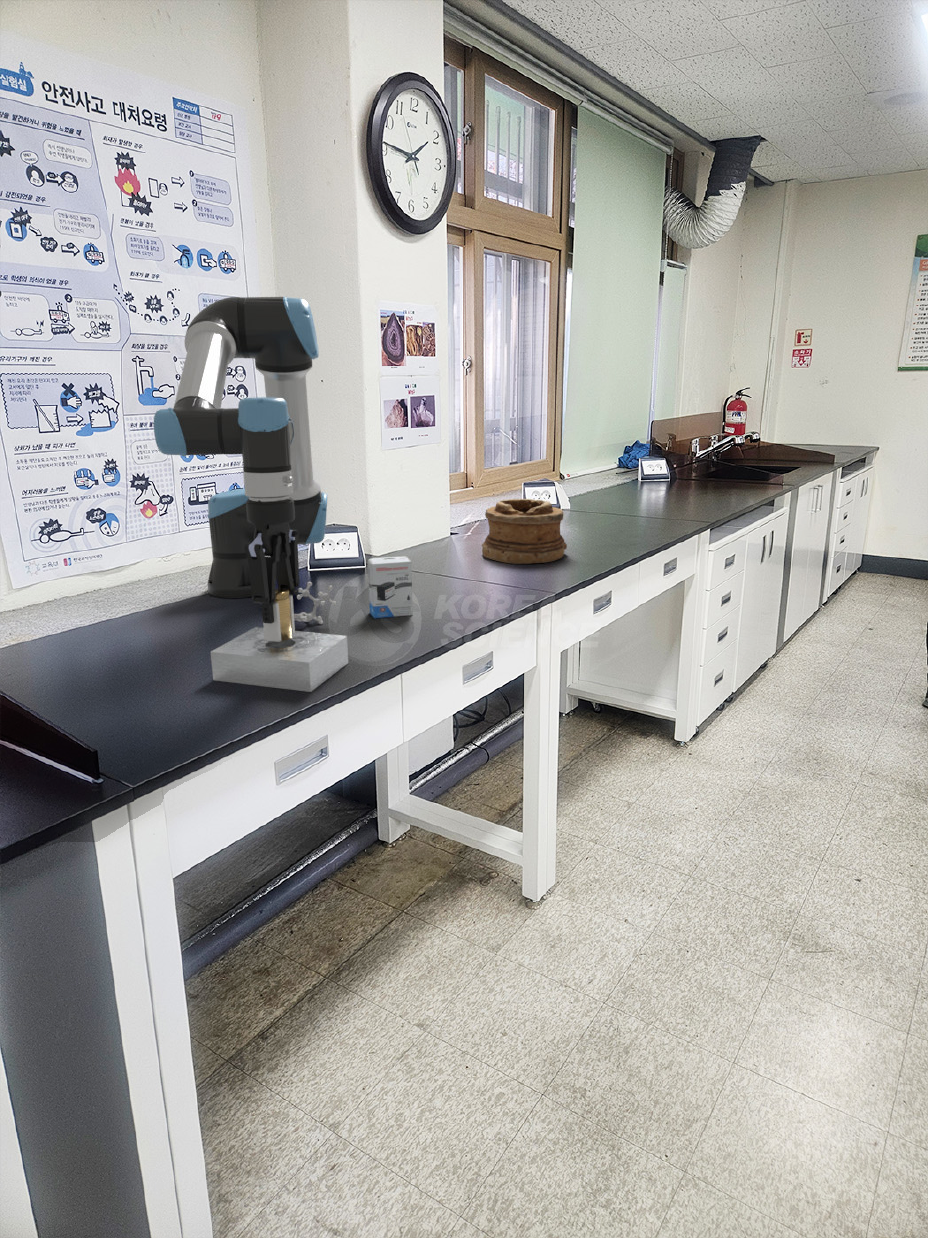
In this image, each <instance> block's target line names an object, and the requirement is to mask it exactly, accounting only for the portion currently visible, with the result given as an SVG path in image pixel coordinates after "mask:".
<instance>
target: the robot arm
mask: <svg viewBox="0 0 928 1238" xmlns="http://www.w3.org/2000/svg"><path fill="white" fill-rule="evenodd" d="M310 306H311V305H310V304H309V302H307V301H306V299H304V298H300V297H299V298H297V297H287V296H255V297H254V296H252V297H251V296H250V297H249V296H245V297H242V296H241V297H240V296H231V297H226V298H221V299H218V300H216V301H214V302H212V303H210V304H209V305H207V306H206V307H205V308H203V309H202V310H200V312H198V313H197V315H195V317H194V318H193V319H192V321H190V323H189V325H188V326H187V330H186V333H185V336H184V347H185V351H186V356H185V359H184V363H183V368H182V371H181V372H182V373H181V376H180V378H179V379H180V381H179V384H178V388H177V393H176V397H175V400H174V404H173V405H174V406H173V407H168V408H161V409H159V410H156V412H155V413H154V416H153V433H154V439H155V444H156V447H157V449H158V450H159V452H160V453H162V454H163V455H166V456H167V455H169V456H170V455H171V456H182V457H186V456H206V455H207V456H209V455H212V456H214V455H241V456H242V468H243V470H242V471H243V473H242V474H243V484H244V485H243V488H238V489H233V490H227V491H223V492H219V493H216V494H214V495H212V496H211V497H210V498H209V499H208V503H207V508H208V509H207V510H208V512H207V513H208V515H207V519H208V522H209V523H208V524H209V525H208V526H209V531H210V533H209V534H210V542H211V552H212V562H211V566H210V570H209V576H208V579H207V593H208V594H209V595H211V596H213V597H218V598H224V599H240V598H242V599H243V598H250V597H251V600H252V602H253V603H255V604H260V605H261V616H262V617H261V618H262V623H263V628H264V638H265V640H267V641H277V642H280V641H281V628H280V614H279V603H276V602H275V596H276V589H286V590H289V599H290V613H291V628H292V633H294V632H295V631H296V627H295V626H296V624H295V620H294V614H295V613H294V612H295V611H294V598H293V595H295V596H297V595H299V588H300V583H301V582H300V565H299V545H302V546H306V545H311V544H320V543H322V542H323V541H324V539H325V534H326V523H327V510H328V494H327V493H326V492H323V491H322V490H321V485H320V484H319V483H318V482H317V481H315V479H314V475H313V474H314V473H313V461H312V458H313V457H312V448H311V447H312V446H311V431H310V419H309V403H308V390H307V374H308V373H309V371H310V370H312V368H313V360H316V359H318V358H319V346H318V340H317V339H318V338H317V333H316V327H315V322H314V319H313V313H312V309H311V307H310ZM234 359H254V365H255V369H256V370H257V371H258V372H259V373H260V374H261V375H262V376H263V379H264V380H263V381H264V390H265V397H264V396H263V397H243V398H242V399H240V400H239V401H238V405H237V406H238V407H237V408H236V407H235V408H233V407H232V408H224V407H222V402H223V396H224V390H225V385H226V379H227V373H228V367H229V364H231V362H233V361H234ZM321 491H322V492H321ZM276 586H277V588H276Z"/></svg>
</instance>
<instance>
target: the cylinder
mask: <svg viewBox="0 0 928 1238" xmlns="http://www.w3.org/2000/svg"><path fill="white" fill-rule="evenodd" d="M275 602H276V603H279V614H280V628H281V641H286V640H289V639H291V638H292V628H291V613H290V599H289V590H286V589H278V588H276V596H275Z"/></svg>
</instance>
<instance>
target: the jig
mask: <svg viewBox="0 0 928 1238" xmlns="http://www.w3.org/2000/svg"><path fill="white" fill-rule="evenodd" d="M348 650H349V649H348V635H344V634H343V635H341V634H331V633H322V632H321V633H320V632H311V631H301V630H295V632H294V633H292V638H291V639H289V640H286V641H280V642H277V641H267V640H265V638H264V627H259V626H255V627H254V628H251V629H249V630H248V631H246V632H244V633H242V634H240V635H239V636H236V637H235V638H232V639H231V640H230V641H229V640H228V641H227V642H226V643H224V644H222V645H221V646H218V647H217V648H215V649H213V650H211V651H210V661H211V671H212V680H213V681H216V682H227V683H233V684H234V683H235V684H242V685H248V686H249V685H250V686H258V687H264V688H265V687H266V688H276V689H282V690H283V689H284V690H290V691H291V690H292V691H301V692H308V693H312V692H313V691H314V690H315V689H317V688H318V687H320V686H321V685H322V684H323V683H324V682H326V681H327V680H328V679H329V678H331V677H332V676H334V675H335V674H337V672H339V671H340V670H341V669H343V668H344V667H345V666H346V665H348V664H349V651H348Z"/></svg>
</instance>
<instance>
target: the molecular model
mask: <svg viewBox="0 0 928 1238" xmlns="http://www.w3.org/2000/svg"><path fill="white" fill-rule="evenodd" d="M306 585H307V586H306V588H305V589H303V588H302V587H298V589H299V592H298V594H297V595H296V598H297V600H301V599H302V597H305V598H306V597H308V598H309V599H310V600H312V601H313V608H312V611H311V612H309V613H307V612H303V611H302V612H300V613H294V621H297V622H299V623H301V622H305V623H309V622H311V621H312V620H315V621H317V622H318V624H319V625H323V624H324V621H323V617H322V616H321V615H318V616H317V613H316V611H317V609H318V606H320V605H321V606H325V605H326V601H328V602H329V603H331V606H332V607H335V606H336V605H337V602H336V601H335V600H332V599H331V595H330V593H331V591H333V589H334V587H333V585H329V586H328V587H327V588H328V589H327V591H326V592H322V591H319V592H318V593H317V595H318V596H319V597H321V598H316V597H314V596H313V595H312V594H310V593H311V592H310V588H311V587H312V586H313V582H311V581H308V582H307V583H306ZM299 593H300V594H299Z"/></svg>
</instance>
